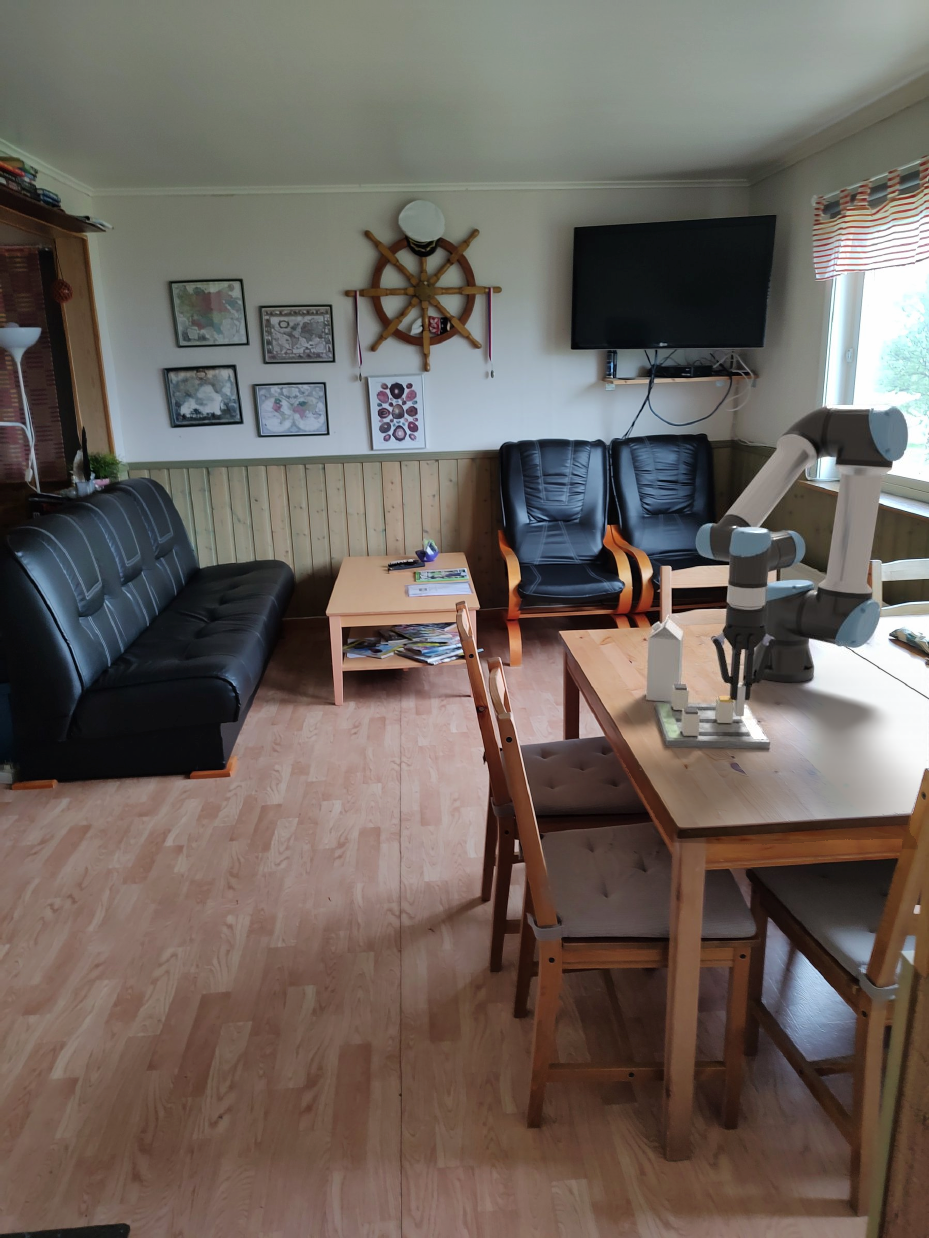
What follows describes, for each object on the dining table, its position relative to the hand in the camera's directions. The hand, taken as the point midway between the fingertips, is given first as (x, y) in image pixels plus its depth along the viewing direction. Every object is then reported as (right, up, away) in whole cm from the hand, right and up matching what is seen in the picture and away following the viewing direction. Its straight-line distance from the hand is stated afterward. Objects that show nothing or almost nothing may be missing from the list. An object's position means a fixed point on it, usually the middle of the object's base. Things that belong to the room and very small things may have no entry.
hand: (738, 713), depth 179 cm
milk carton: (-11, +2, +20) cm, 23 cm away
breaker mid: (-3, -1, +1) cm, 3 cm away
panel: (-6, -3, +2) cm, 7 cm away
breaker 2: (-12, -3, -5) cm, 13 cm away
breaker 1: (-10, +1, +8) cm, 13 cm away
